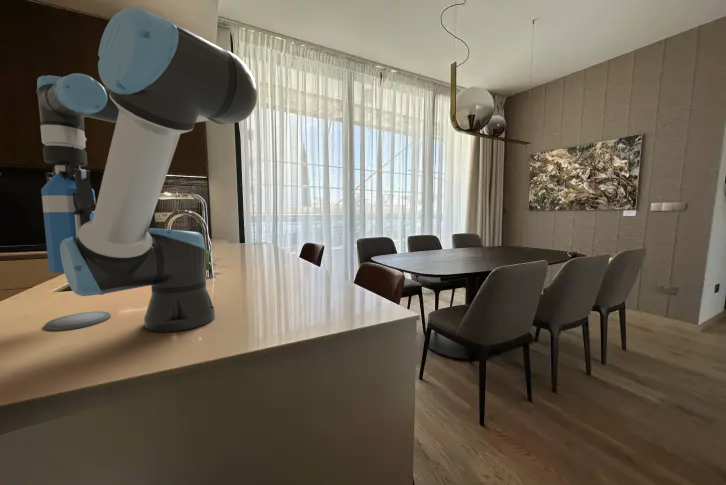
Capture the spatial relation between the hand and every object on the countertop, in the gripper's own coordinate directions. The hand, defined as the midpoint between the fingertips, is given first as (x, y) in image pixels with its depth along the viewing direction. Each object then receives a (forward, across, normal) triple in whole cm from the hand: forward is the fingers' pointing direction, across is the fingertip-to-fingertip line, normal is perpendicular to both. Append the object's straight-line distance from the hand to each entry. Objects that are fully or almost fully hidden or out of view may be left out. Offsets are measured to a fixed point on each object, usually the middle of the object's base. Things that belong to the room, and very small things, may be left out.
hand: (73, 241), depth 75 cm
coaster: (+20, 0, 0) cm, 20 cm away
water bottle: (+7, 0, 0) cm, 7 cm away
